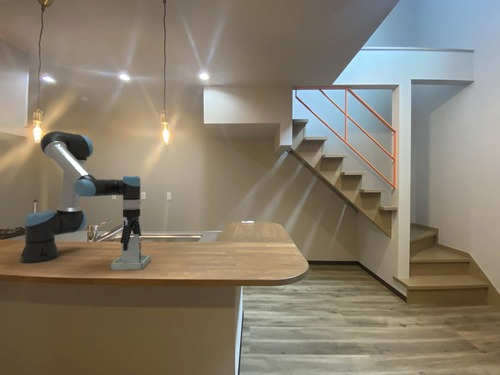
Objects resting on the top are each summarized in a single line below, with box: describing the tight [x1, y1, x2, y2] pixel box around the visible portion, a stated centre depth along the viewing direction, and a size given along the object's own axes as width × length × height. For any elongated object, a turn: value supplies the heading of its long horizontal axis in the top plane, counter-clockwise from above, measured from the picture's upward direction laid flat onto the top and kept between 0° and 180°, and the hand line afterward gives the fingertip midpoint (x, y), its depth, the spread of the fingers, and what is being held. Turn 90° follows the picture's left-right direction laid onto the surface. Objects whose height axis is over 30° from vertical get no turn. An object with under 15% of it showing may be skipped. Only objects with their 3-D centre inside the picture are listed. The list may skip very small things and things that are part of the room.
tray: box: [109, 254, 151, 271], centre depth 126 cm, size 14×13×3 cm
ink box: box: [121, 233, 142, 263], centre depth 125 cm, size 4×8×15 cm, turn 94°
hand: (131, 253), depth 125 cm, fingers open, 13 cm apart
